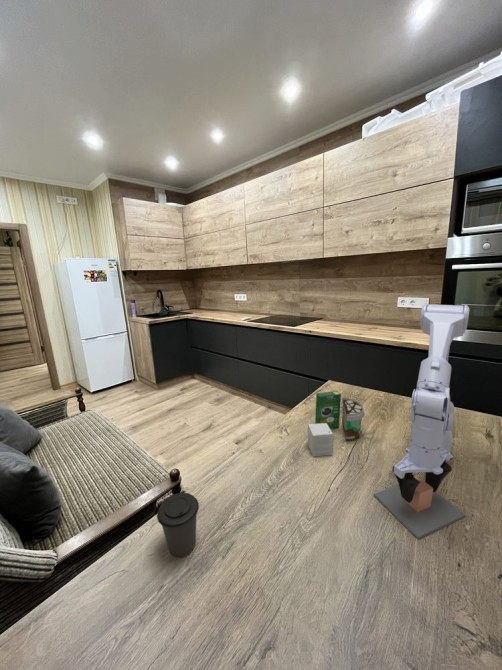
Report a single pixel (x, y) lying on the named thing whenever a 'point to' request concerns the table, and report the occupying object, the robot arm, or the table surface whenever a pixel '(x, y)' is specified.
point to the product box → (320, 439)
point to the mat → (423, 520)
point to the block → (421, 496)
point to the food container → (351, 418)
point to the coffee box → (328, 408)
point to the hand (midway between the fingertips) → (418, 494)
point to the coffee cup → (179, 523)
